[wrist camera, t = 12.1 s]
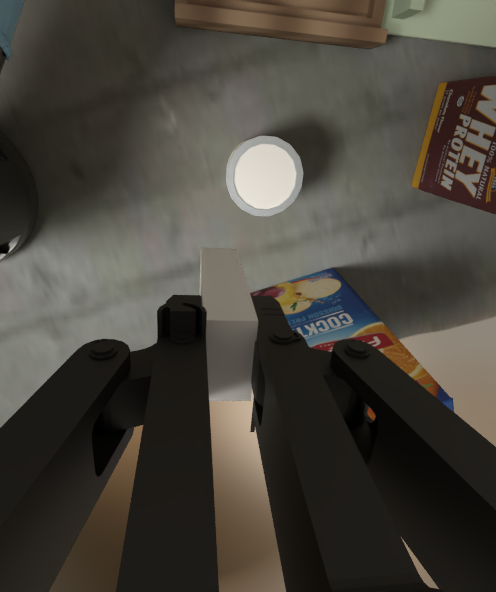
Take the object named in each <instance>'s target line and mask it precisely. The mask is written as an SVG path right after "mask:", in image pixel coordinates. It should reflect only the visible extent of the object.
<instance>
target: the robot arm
mask: <svg viewBox="0 0 496 592" xmlns="http://www.w3.org/2000/svg"><path fill="white" fill-rule="evenodd" d="M23 4H24V0H0V73H1V70H2V68H3V65H4V63H5V60H8V61H9V60H10V58H11V56H12V49H11V47H10V44H11V41H12V38H13V35H14V32H15V29H16V26H17V23H18V20H19V17H20V14H21V10H22V7H23ZM37 207H38V202H37V193H36V188H35V184H34V180H33V177H32V175H31V172H30V170H29V168H28V166H27V164H26V162H25V161H24V159H23V158H22V156H21V154H20V153H19V152H18V150H17V149H16V148H15V147H14V145H13V144H12V143H11V142H10V141H9V140H8V139H7V138H6V137H5V136H4V135H3V134H2V133H1V132H0V262H1V261H2V260H4V259H6V258H7V257H8V256H10V255H11V254H12V253H14V252H15V251H16V250H18V249H19V248H20V247H21V246H22V245H23V244H24V242H25V241H26V240H27V238H28V237H29V235H30V234H31V232H32V229H33V227H34V224H35V221H36V216H37ZM157 323H158V339H157V343H156V344H154V345H153V346H151V347H148V348H146V349H142V350H138V351H132V352H130V349H129V347H128V345H127V344H125V343H124V342H122V341H118V340H114V339H101V340H100V339H99V340H95V341H92V342H89V343H87V344H84V345H83V346H82V347H80V348H79V349H78V350H77V351H76V352H75V353H74V354H73V355H72V356H71V357H70V358H69V359H68V360H67V361H66V362H65V363H64V364H63V365H62V366H61V367H60V368H59V369H58V370H57V371H56V372H55V373H54V374H53V375H52V376H51V377H50V378H49V379H48V380H47V381H46V382H45V383H44V384H43V385H42V386H41V387H40V388H39V389H38V390H37V391H36V392H35V393H34V394H33V395H32V396H31V397H30V398H29V399H28V401H27V402H26V403H25V404H24V405H23V406H22V407H21V408H20V409H19V410H18V411H17V412H16V413H15V414H14V415H13V416H12V417H11V418H10V419H9V420H8V421H7V422H6V423H5V424H4V425H3V426H2V427H1V428H0V592H49V590H50V588H51V586H52V584H53V583H54V581H55V579H56V577H57V575H58V573H59V571H60V570H61V568H62V566H63V564H64V562H65V560H66V558H67V556H68V555H69V553H70V550H71V549H72V547H73V545H74V543H75V542H76V540H77V538H78V536H79V534H80V532H81V530H82V528H83V527H84V525H85V523H86V521H87V519H88V517H89V515H90V514H91V511H92V510H93V508H94V506H95V504H96V502H97V500H98V499H99V497H100V495H101V493H102V491H103V489H104V487H105V485H106V484H107V482H108V480H109V478H110V476H111V474H112V473H113V471H114V469H115V467H116V465H117V463H118V461H119V459H120V458H121V456H122V454H123V452H124V450H125V448H126V446H127V444H128V443H129V441H130V439H131V437H132V435H133V431H134V427H136V426H140V425H143V431H142V437H141V443H140V449H139V455H138V461H137V467H136V473H135V479H134V485H133V491H132V498H131V503H130V510H129V516H128V522H127V528H126V534H125V541H124V546H123V553H122V558H121V564H120V570H119V576H118V582H117V589H116V592H219V586H218V566H217V546H216V527H215V507H214V488H213V468H212V449H211V430H210V410H209V401H250V400H251V391H252V390H253V394H254V402H253V412H252V422H251V432H254V430H255V427H256V433H257V438H258V443H259V448H260V454H261V459H262V465H263V470H264V475H265V481H266V486H267V491H268V496H269V502H270V507H271V513H272V518H273V523H274V528H275V534H276V539H277V544H278V550H279V555H280V561H281V566H282V571H283V577H284V582H285V587H286V592H496V447H495V446H494V445H493V444H491V443H490V442H489V441H488V440H487V439H485V438H484V437H483V436H482V435H481V434H479V433H478V432H477V431H476V430H475V429H473V428H472V427H470V425H469V424H467V423H466V422H465V421H464V420H462V419H461V418H460V417H459V416H458V415H456V414H455V413H454V412H453V411H452V410H450V409H449V408H448V407H447V406H446V405H444V404H443V403H442V402H441V401H440V400H438V399H437V398H436V397H435V396H434V395H432V394H431V393H430V392H429V391H427V390H426V389H425V388H424V387H423V386H421V385H420V384H419V383H418V382H417V381H415V380H414V379H413V378H412V377H411V376H409V375H408V374H407V373H406V372H405V371H403V370H402V369H401V368H400V367H399V366H397V365H396V364H395V363H394V362H392V361H391V360H390V359H389V358H388V357H386V356H385V355H384V354H383V353H382V352H380V351H379V350H378V349H377V348H375V347H374V346H372V345H371V344H369V343H366V342H363V341H362V340H358V339H357V340H356V339H343V340H339V341H337V342H336V343H335V344H333V350H332V352H330V351H325V350H319V349H315V348H311V347H309V346H308V344H307V342H306V340H305V338H304V337H303V336H302V335H301V334H300V333H298V332H297V331H295V330H292V329H291V327H290V325H289V323H288V321H287V318H286V316H285V314H284V312H283V310H282V307H281V305H280V303H279V302H278V301H277V300H276V299H274V298H273V297H272V296H251V295H250V292H249V289H248V285H247V282H246V279H245V276H244V272H243V269H242V266H241V262H240V259H239V256H238V253H237V249H223V248H201V263H200V295H173V296H172V297H171V298H169V299H168V300H167V301H166V304H164V305H162V306H161V307H160V308H159V309H158V311H157ZM369 407H370V408H371V409H372V411H373V412H374V413H375V419H374V420H372V419H371V418H370V417H369V416H368V414H367V413H368V409H369ZM401 537H402V539H403V540H404V541H405V542H406V544H407V545H408V547H409V548H410V550H411V551H412V552H413V554H414V555H415V556H416V558H417V559H418V560H419V562H420V563H421V564H422V566H423V567H424V569H425V570H426V571H427V573H428V574H429V575H430V577H431V578H432V579H433V581H434V582H435V583H436V585H437V586H438V588H439V589H435V588H429V587H428V586H427V585H426V584H425V583H424V582H423V580H422V579H421V577H420V575H419V574H418V572H417V570H416V568H415V565H414V563H413V561H412V559H411V557H410V555H409V553H408V551H407V549H406V547H405V545H404V543H403V541H402V539H401Z"/></svg>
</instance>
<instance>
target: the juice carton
mask: <svg viewBox="0 0 496 592" xmlns="http://www.w3.org/2000/svg"><path fill="white" fill-rule="evenodd" d="M250 295H251V296H272V297H273V298H274V299H276V300H277V301H278V302H279V303H280V305H281V307H282V310H283V312H284V314H285V316H286V318H287V321H288V323H289V325H290V327H291V329H292V330H295V331H297V332H298V333H300V334H301V335H302V336H303V337H304V338H305V340H306V342H307V344H308V346H309V347H311V348H315V349H319V350H325V351H330V352H332V350H333V344H335V343H336V342H337V341H339V340H343V339H356V340H357V339H358V340H362V341H363V342H366V343H369V344H371V345H372V346H374V347H375V348H377V349H378V350H379V351H380V352H382V353H383V354H384V355H385V356H386V357H388V358H389V359H390V360H391V361H392V362H394V363H395V364H396V365H397V366H399V367H400V368H401V369H402V370H403V371H405V372H406V373H407V374H408V375H409V376H411V377H412V378H413V379H414V380H415V381H417V382H418V383H419V384H420V385H421V386H423V387H424V388H425V389H426V390H427V391H429V392H430V393H431V394H432V395H434V396H435V397H436V398H437V399H438V400H440V401H441V402H442V403H443V404H444V405H446V406H447V407H448V408H449V409H450V410H452V411H453V412H454V407H453V398H450V397H449V396H448V394H447V393H446V392H445V391H444V390H443V389H442V388H441V387H440V385H439V384H438V383H437V382H436V381H435V380H434V379H433V378H432V377H431V376H430V374H429V373H428V372H427V371H426V370H425V369H424V368H423V367H422V365H420V363H419V362H418V361H417V360H416V359H415V358H414V357H413V356H412V355H411V353H410V352H409V351H408V350H407V349H406V348H405V347H404V345H403V344H402V343H401V342H400V341H399V340H398V339H397V338H396V337H395V335H394V334H393V333H392V332H391V331H390V330H389V329H388V328H387V327H386V326H385V324H384V323H383V322H382V321H381V320H380V319H379V318H378V317H377V316H376V314H375V313H374V312H373V311H372V310H371V309H370V308H369V307H368V306H367V304H366V303H365V302H364V301H363V300H362V299H361V298H360V297H359V296H358V294H357V293H356V292H355V291H354V290H353V289H352V288H351V287H350V286H349V284H348V283H347V282H346V281H345V280H344V279H343V278H342V277H341V276H340V274H339V273H338V272H337V271H336V270H335V269H334V268H330V269H327V270H324V271H320V272H317V273H314V274H311V275H307V276H304V277H301V278H298V279H294V280H291V281H288V282H285V283H282V284H278V285H275V286H272V287H269V288H265V289H262V290H259V291H256V292H252V293H250ZM367 414H368V416H369V417H370V418H371V419H372V420H374V419H375V413H374V412H373V411H372V409H371V408H370V407H369V409H368V413H367Z"/></svg>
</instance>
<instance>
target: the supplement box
mask: <svg viewBox="0 0 496 592" xmlns="http://www.w3.org/2000/svg"><path fill="white" fill-rule="evenodd" d="M411 186H412V187H414V188H417V189H420V190H423V191H425V192H428V193H432V194H434V195H437V196H441V197H444V198H447V199H450V200H453V201H456V202H459V203H462V204H465V205H468V206H471V207H474V208H477V209H480V210H483V211H487V212H490V213H493V214H496V76H490V77H482V78H474V79H466V80H459V81H452V82H444V83H440V84H439V86H438V90H437V93H436V97H435V100H434V104H433V108H432V111H431V115H430V119H429V122H428V126H427V130H426V133H425V137H424V140H423V144H422V148H421V151H420V155H419V159H418V163H417V166H416V170H415V174H414V177H413V181H412V185H411Z"/></svg>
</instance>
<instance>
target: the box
mask: <svg viewBox="0 0 496 592" xmlns="http://www.w3.org/2000/svg"><path fill="white" fill-rule="evenodd" d="M385 4H386V0H175V21H176V26H178V27H186V28H194V29H203V30H211V31H220V32H228V33H237V34H245V35H254V36H262V37H271V38H279V39H288V40H296V41H304V42H313V43H321V44H330V45H338V46H347V47H355V48H364V49H371V48H374V47H377V46H379V45H382V44H385V43H386V38H387V32H388V29H381V26H382V21H383V15H384V10H385Z"/></svg>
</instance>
